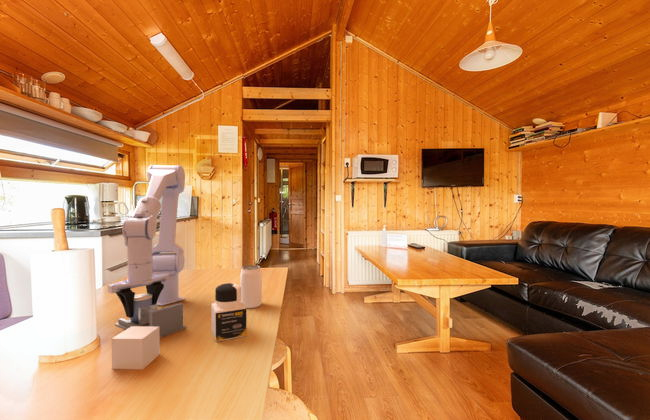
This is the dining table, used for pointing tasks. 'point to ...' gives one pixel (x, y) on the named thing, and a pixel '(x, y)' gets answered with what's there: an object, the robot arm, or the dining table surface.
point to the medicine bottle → (228, 313)
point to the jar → (140, 305)
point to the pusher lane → (161, 320)
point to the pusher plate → (145, 313)
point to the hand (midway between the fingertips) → (140, 313)
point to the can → (251, 286)
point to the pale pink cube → (135, 347)
